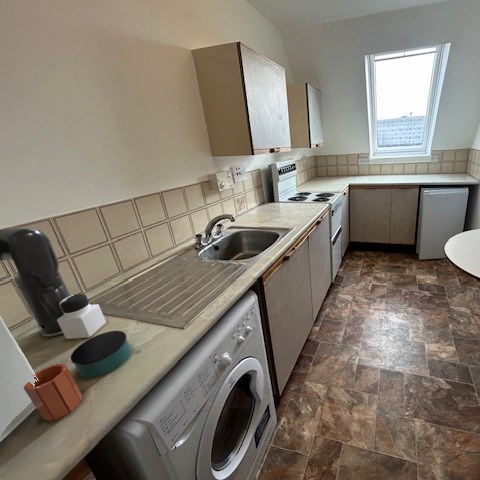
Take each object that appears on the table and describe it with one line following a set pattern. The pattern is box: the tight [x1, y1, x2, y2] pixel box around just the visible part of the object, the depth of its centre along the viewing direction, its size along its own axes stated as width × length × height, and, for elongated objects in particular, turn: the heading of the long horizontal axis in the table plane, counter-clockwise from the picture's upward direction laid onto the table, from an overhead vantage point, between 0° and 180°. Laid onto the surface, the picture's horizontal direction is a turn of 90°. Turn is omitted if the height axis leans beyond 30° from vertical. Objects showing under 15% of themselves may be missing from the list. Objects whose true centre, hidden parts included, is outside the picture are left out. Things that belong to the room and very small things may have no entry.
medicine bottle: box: [57, 293, 107, 340], centre depth 80 cm, size 7×7×12 cm
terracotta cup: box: [23, 363, 83, 422], centre depth 56 cm, size 6×6×9 cm
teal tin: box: [70, 330, 132, 379], centre depth 69 cm, size 11×11×5 cm
